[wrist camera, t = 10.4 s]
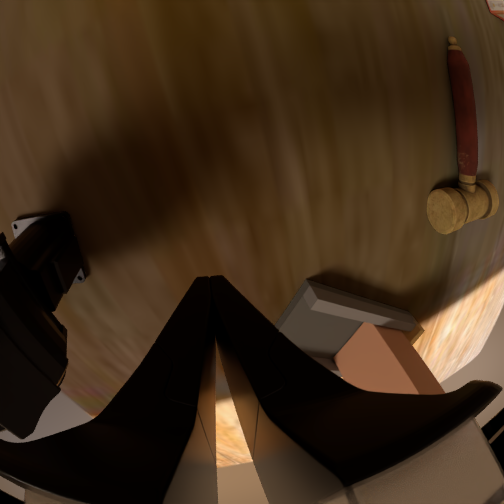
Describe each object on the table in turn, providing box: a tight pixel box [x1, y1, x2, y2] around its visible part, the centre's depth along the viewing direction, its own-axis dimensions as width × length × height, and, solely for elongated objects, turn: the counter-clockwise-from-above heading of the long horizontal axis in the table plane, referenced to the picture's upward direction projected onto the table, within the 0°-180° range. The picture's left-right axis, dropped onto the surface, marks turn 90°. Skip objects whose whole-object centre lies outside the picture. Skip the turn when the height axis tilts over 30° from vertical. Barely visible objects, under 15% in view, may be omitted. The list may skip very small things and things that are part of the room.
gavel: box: [427, 37, 499, 234], centre depth 19 cm, size 21×5×10 cm
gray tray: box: [275, 279, 425, 377], centre depth 29 cm, size 18×10×4 cm, turn 63°
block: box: [333, 322, 445, 395], centre depth 25 cm, size 6×7×12 cm
